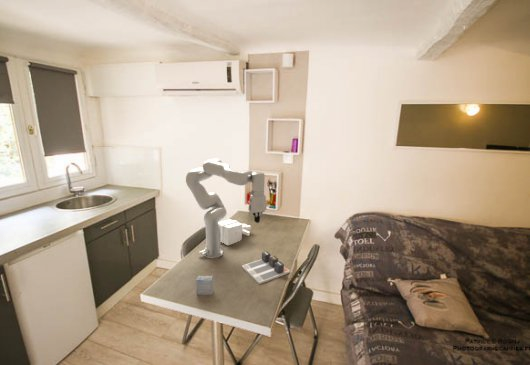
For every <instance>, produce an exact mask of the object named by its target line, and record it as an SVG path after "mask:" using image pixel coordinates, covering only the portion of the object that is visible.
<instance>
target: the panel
mask: <svg viewBox="0 0 530 365" xmlns="http://www.w3.org/2000/svg"><path fill="white" fill-rule="evenodd" d="M269 257H272V256H271V253H270V252H269V251H267V250H266V251H264V252H261V259H258V260H255V261H252V262H248V263H246V264H242V265H241V268H242V269H243V270H244V271H245V272H246V273H247V274H248V275H249V276H250V277H251V278H252V279H253V280H254V281H255V282H256V283H257V284H258V285H261V284H263V283H266V282H269V281H273V280H274V279H277V278H279V277H282V276H284V275H288V274H290V272H291V271H290V269H288V268H286V267H285V263H283V262H281V261H279V260H278V262H276V263H275V265H274V267H271V266H270V265H269Z"/></svg>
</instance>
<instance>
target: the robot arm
mask: <svg viewBox="0 0 530 365" xmlns="http://www.w3.org/2000/svg"><path fill="white" fill-rule="evenodd" d="M213 176H216V177H219V178H222V179H225V181H227V182H228V183H230V184H233V185H236V186H246V185H247V184H250V183H251V192H249V195H250V196H249V203H248V211H249V212H248V214H249V215H253V216H254V217H253V218H254V219H253V221H254V222H255V223H257V224H259V223H260V221H261V216H262V214H263V213H265V212H266V210H267V197H266V194H265V177H266V175H265V173H264V172H262V171H261V172H260V171H253V170H244V171H242V172H239V171H234V170H233V169H231V168H230V165H229V164H227V163H223V162H222V160H220V159H219V158H212V159H207V160H206V161H204V162H203V164H202V167H197V168H193V169H191V170H189V171H188V173H186V176H185V182H186V185H187V187H188V189H189V190H190V191H191V193H192V194H193V197H194V198H195V201H196V203H197V204H198V206H199V208H200V209H201V210H208V211H206V212H205V214H204V216H203V221H204V226H205V247H204V249H203V250H200V251H199V252H198V253H199V255H202V256H204V257H205V258H206V259H219V258H220V257H222V255H223V254H224V251H223V250H222V249H221V242H220V226H219V224H218V222H221V221H223V220H224V219H225V218H226V216H227V214H228V213H227V209H226V207H225V205H224V203H223V202H222V200H221V198H220V196H219V195H218V194H217V193H216V192H213V191H212V192H208V191H207V190H206V188H205V186H204V185H203V184H201V183H200V182H202V181H205V180H208V179H210V178H212V177H213Z"/></svg>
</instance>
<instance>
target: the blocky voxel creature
mask: <svg viewBox="0 0 530 365" xmlns="http://www.w3.org/2000/svg"><path fill="white" fill-rule="evenodd" d="M218 224H219V226H220V243H221V242H222V243H221V244H223V243H224V244H223V245H226V246H231V245H233V244H235V243H238V241H239V242H241V241H242V239H243V235H244V236H250V235H251V231H249V230H251V229H252V225H249V224H246V223H241V222H239V221H238V220H233V219H231V218H229V219H226V220H221V221H219V222H218ZM240 240H241V241H240Z"/></svg>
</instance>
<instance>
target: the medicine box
mask: <svg viewBox="0 0 530 365" xmlns="http://www.w3.org/2000/svg"><path fill="white" fill-rule="evenodd" d="M195 283H196V284H195V287H196V295H197V296H203V295H204V296H211V295H213V291H214V276H213V275H198V276H197V278H196V280H195Z"/></svg>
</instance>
